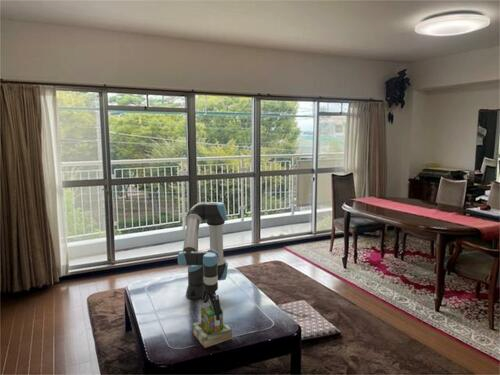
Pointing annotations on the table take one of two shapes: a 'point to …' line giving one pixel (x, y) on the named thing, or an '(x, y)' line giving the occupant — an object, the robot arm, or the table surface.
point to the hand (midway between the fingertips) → (211, 319)
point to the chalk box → (210, 320)
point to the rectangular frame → (212, 335)
